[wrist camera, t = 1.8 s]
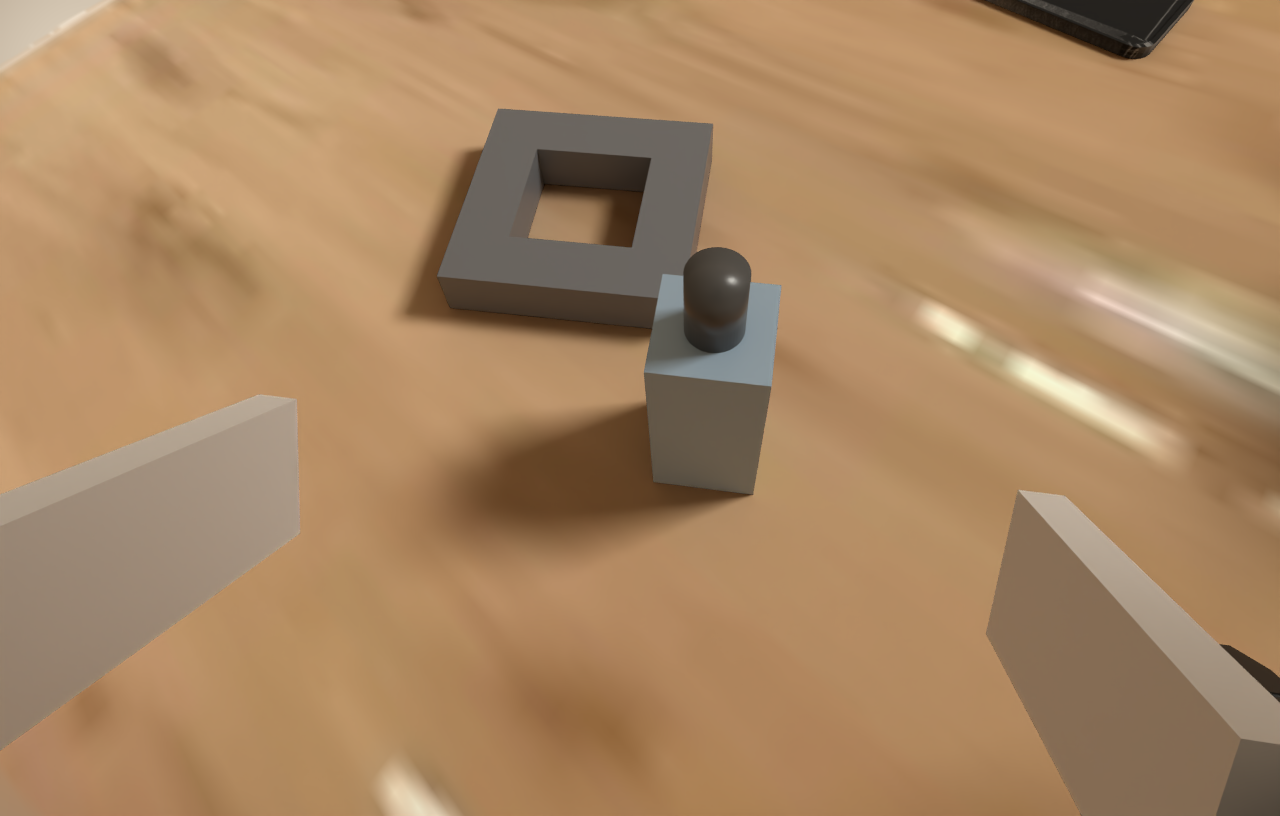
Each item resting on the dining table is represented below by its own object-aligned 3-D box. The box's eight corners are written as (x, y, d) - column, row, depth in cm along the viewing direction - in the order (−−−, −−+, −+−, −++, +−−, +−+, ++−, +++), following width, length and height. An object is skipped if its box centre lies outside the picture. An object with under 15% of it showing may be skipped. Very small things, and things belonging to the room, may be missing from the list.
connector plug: (761, 408, 37) (790, 228, 27) (752, 494, 35) (780, 335, 25) (667, 397, 38) (660, 217, 28) (653, 481, 36) (639, 320, 25)
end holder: (711, 159, 46) (713, 123, 43) (683, 331, 40) (682, 300, 38) (506, 143, 47) (498, 108, 45) (449, 307, 41) (436, 276, 39)
